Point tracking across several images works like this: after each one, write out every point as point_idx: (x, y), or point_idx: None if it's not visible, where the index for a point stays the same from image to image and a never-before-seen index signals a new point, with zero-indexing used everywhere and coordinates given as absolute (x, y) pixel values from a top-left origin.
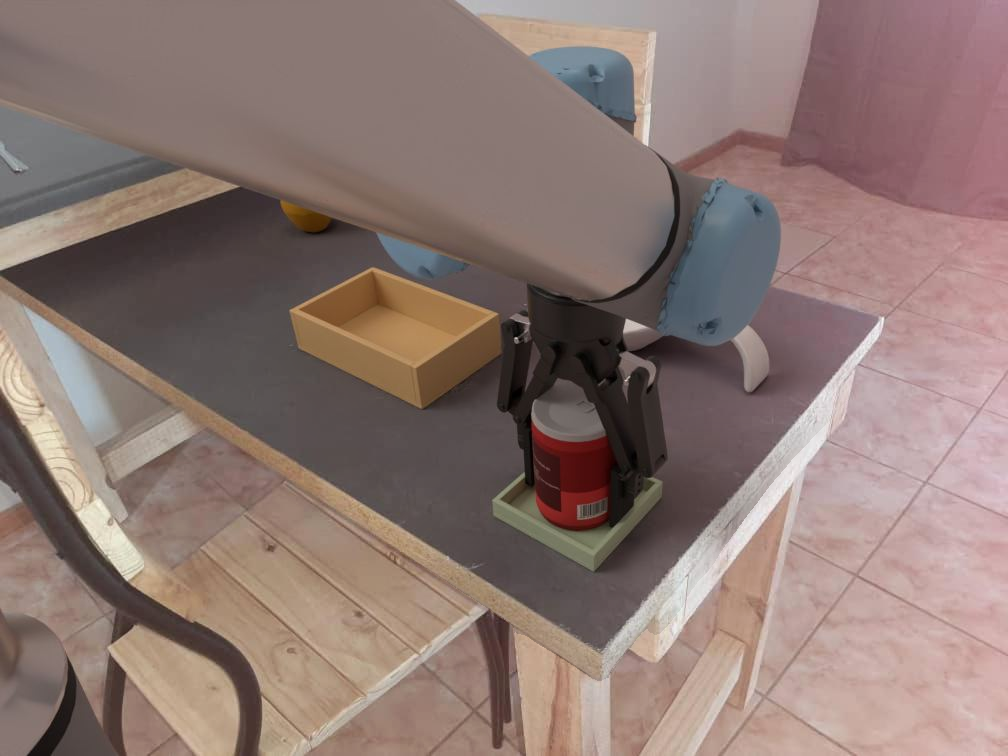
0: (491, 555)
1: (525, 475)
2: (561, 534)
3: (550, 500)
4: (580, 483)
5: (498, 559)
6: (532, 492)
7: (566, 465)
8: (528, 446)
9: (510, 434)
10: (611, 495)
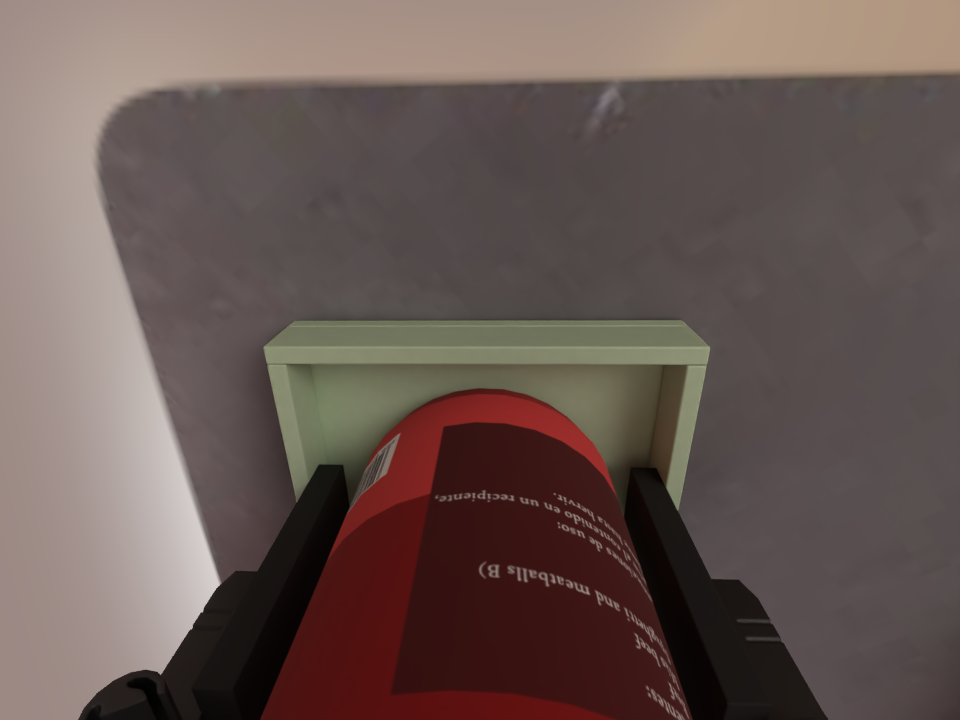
0: (587, 180)
1: (665, 490)
2: (404, 359)
3: (485, 443)
4: (347, 565)
5: (556, 181)
6: (622, 453)
7: (367, 644)
8: (697, 613)
9: (812, 583)
10: (290, 564)
